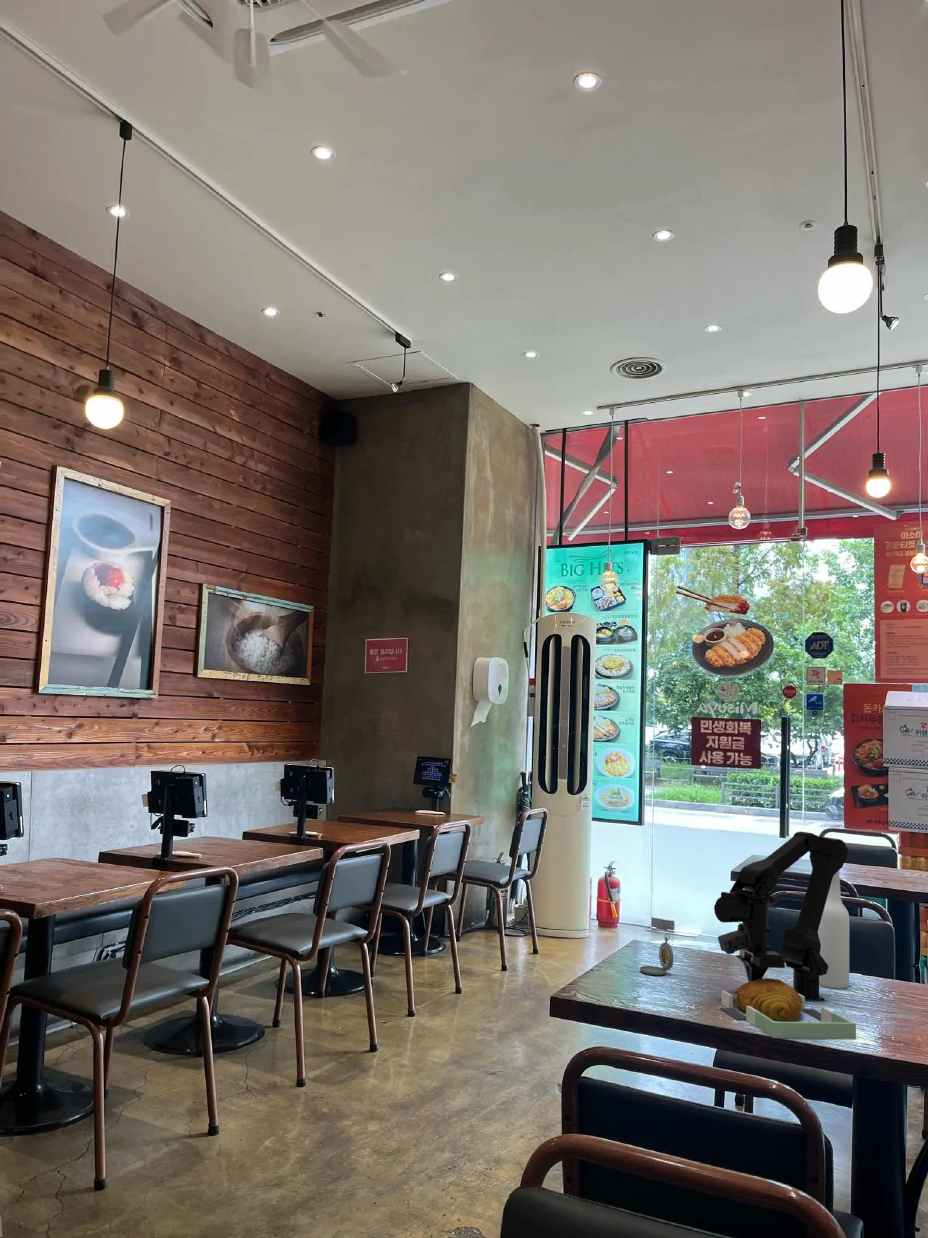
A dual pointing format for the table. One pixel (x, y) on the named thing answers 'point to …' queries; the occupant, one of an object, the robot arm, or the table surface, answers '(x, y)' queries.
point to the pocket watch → (661, 960)
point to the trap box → (826, 1029)
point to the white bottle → (835, 939)
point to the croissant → (770, 999)
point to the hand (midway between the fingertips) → (753, 990)
